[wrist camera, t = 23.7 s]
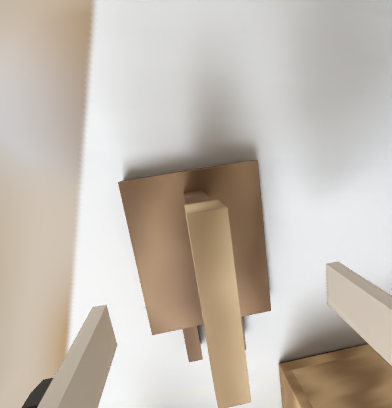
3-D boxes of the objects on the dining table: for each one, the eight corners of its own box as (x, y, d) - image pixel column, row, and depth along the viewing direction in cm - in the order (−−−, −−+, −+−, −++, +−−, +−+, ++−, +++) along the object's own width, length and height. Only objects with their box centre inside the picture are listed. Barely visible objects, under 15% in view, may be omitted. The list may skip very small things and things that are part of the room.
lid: (251, 160, 21) (324, 161, 11) (268, 332, 25) (332, 450, 15) (122, 180, 20) (71, 201, 10) (160, 355, 24) (151, 496, 14)
